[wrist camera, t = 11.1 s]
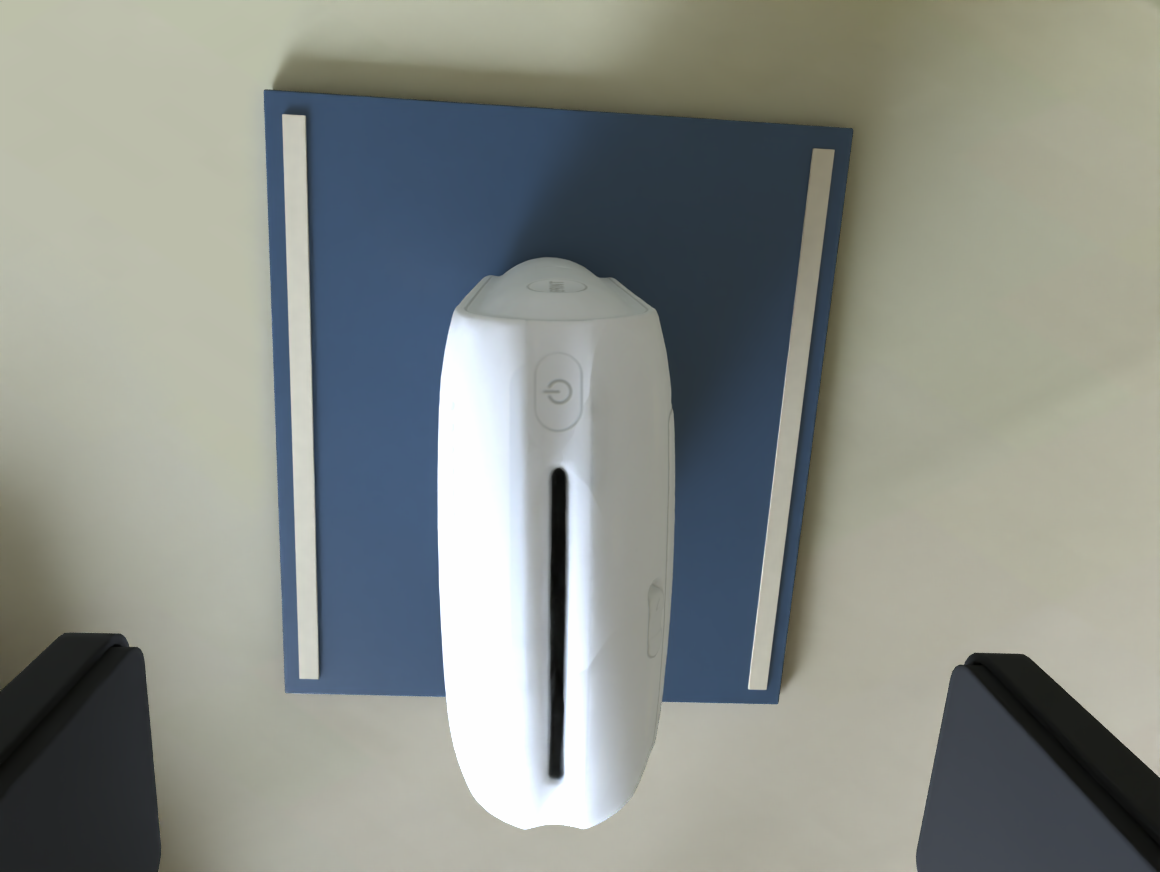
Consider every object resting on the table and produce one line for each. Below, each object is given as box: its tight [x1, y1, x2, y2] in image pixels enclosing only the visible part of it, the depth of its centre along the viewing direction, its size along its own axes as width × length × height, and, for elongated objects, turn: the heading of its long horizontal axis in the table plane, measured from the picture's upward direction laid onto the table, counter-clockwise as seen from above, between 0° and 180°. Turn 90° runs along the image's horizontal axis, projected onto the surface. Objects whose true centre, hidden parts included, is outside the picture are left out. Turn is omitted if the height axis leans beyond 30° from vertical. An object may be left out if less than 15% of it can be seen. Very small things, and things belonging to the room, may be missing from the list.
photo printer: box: [438, 257, 675, 829], centre depth 19 cm, size 10×4×12 cm, turn 179°
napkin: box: [264, 90, 853, 704], centre depth 25 cm, size 18×16×1 cm
